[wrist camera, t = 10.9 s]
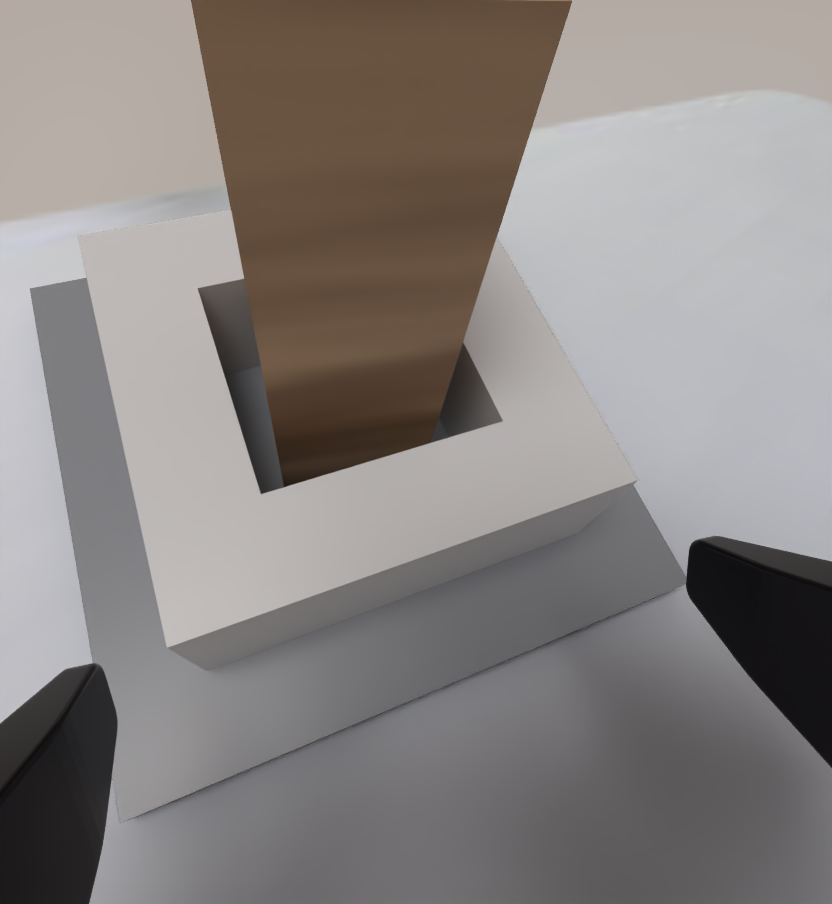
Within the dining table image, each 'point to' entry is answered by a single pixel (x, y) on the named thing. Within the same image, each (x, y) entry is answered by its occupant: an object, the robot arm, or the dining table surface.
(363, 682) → the socket board
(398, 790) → the dining table surface
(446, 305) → the walnut peg
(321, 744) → the dining table surface
